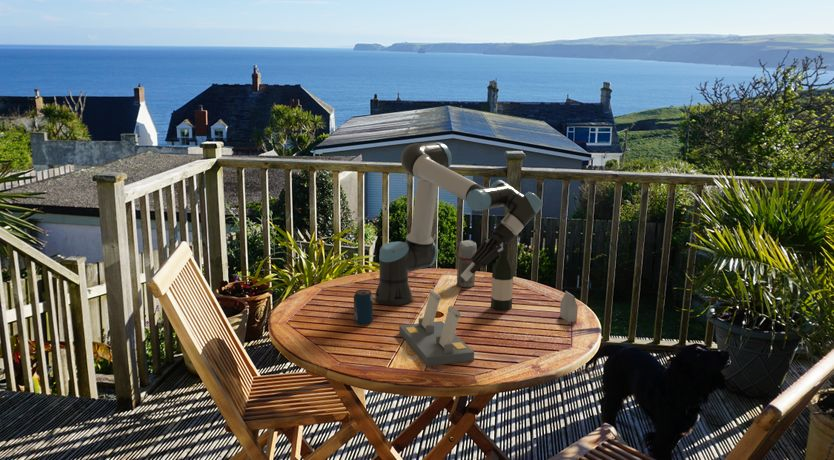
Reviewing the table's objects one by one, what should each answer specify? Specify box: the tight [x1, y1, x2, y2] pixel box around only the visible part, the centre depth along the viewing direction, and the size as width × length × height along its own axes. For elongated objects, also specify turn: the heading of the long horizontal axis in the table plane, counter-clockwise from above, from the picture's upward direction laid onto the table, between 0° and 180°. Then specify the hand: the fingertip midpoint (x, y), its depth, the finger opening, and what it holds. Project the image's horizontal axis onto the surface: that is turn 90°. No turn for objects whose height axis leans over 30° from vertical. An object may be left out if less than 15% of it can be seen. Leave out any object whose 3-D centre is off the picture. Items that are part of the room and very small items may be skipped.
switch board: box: [398, 317, 475, 367], centre depth 230 cm, size 16×30×6 cm, turn 18°
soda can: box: [353, 289, 374, 326], centre depth 251 cm, size 7×7×12 cm
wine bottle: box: [490, 243, 515, 312], centre depth 269 cm, size 8×8×30 cm
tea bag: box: [559, 290, 579, 323], centre depth 259 cm, size 4×7×10 cm, turn 14°
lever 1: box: [422, 289, 442, 329], centre depth 237 cm, size 2×6×13 cm, turn 19°
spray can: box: [456, 239, 478, 288], centre depth 299 cm, size 8×8×20 cm
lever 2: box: [439, 305, 461, 348], centre depth 221 cm, size 2×6×13 cm, turn 19°
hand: (463, 278), depth 239 cm, fingers closed
